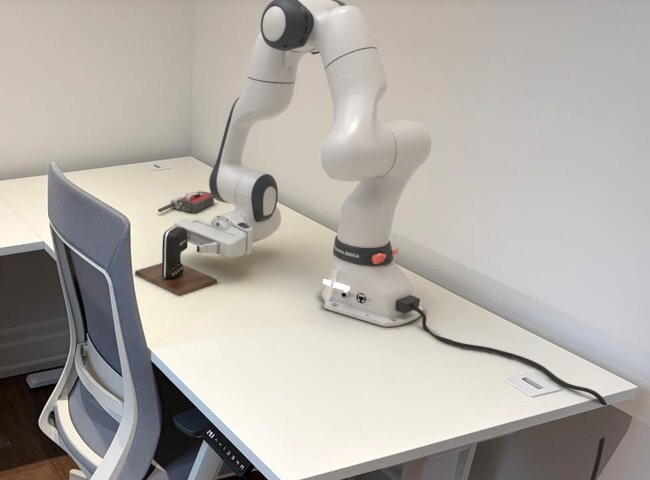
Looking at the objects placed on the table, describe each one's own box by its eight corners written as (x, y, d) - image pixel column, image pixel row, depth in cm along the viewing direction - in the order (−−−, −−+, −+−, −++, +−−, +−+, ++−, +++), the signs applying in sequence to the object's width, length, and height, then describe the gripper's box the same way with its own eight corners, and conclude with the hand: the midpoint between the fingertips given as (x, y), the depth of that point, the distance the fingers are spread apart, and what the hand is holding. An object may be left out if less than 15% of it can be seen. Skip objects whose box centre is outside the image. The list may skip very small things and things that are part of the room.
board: (216, 283, 201) (217, 279, 201) (179, 295, 195) (179, 291, 194) (172, 263, 212) (172, 259, 212) (135, 274, 206) (135, 270, 205)
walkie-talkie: (192, 197, 259) (155, 214, 245) (192, 183, 256) (155, 199, 242) (217, 203, 254) (181, 220, 240) (218, 188, 252) (181, 205, 238)
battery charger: (175, 281, 199) (177, 235, 194) (160, 278, 201) (162, 232, 195) (188, 271, 205) (190, 226, 199) (174, 268, 206) (175, 223, 200)
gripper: (198, 208, 214) (156, 219, 206) (258, 230, 200) (215, 243, 192) (197, 232, 217) (156, 244, 209) (255, 255, 203) (213, 269, 196)
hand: (185, 244), depth 201 cm, fingers open, 8 cm apart
